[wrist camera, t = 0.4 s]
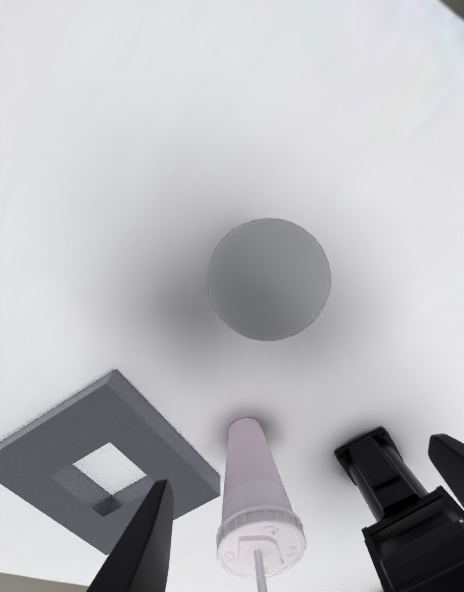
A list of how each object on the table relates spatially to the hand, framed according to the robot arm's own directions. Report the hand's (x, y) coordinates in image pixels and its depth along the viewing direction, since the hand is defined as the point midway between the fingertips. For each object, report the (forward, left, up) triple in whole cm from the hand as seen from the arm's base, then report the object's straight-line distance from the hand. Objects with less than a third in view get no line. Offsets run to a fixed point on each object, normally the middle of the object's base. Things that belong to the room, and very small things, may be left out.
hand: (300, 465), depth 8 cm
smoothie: (-12, +7, -14) cm, 20 cm away
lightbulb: (+4, -3, -14) cm, 15 cm away
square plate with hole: (-7, +21, -14) cm, 26 cm away
